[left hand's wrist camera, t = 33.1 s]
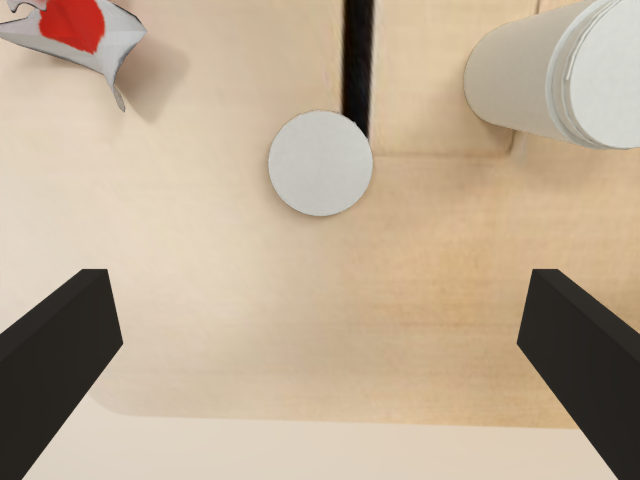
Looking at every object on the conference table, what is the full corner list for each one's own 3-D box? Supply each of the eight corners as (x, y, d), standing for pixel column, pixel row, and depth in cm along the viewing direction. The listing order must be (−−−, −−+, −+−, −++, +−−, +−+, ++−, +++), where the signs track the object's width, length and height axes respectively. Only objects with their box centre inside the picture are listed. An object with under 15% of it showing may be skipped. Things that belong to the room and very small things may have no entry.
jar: (572, 24, 33) (765, -19, 18) (546, 127, 36) (695, 158, 21) (473, 18, 32) (590, -29, 18) (455, 122, 35) (545, 150, 21)
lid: (314, 85, 34) (313, 86, 32) (392, 155, 36) (395, 159, 35) (250, 167, 37) (246, 172, 35) (326, 228, 39) (326, 235, 37)
